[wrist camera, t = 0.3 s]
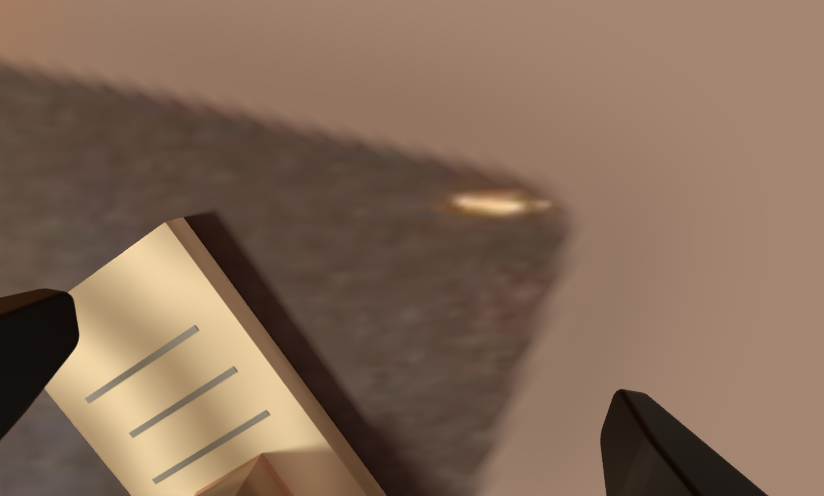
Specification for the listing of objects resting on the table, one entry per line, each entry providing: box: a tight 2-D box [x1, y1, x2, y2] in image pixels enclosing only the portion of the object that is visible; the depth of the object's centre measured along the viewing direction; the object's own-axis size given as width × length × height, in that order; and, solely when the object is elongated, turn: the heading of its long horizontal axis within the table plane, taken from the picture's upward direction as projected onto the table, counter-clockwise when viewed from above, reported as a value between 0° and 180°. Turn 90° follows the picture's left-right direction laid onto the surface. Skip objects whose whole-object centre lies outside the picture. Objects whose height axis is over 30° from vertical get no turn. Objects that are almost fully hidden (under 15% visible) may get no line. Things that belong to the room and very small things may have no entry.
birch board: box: [45, 217, 387, 496], centre depth 25 cm, size 10×18×2 cm, turn 34°
